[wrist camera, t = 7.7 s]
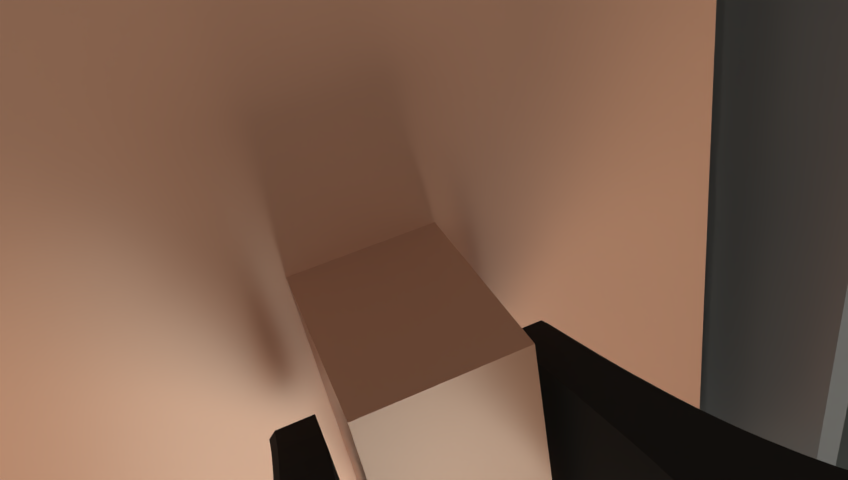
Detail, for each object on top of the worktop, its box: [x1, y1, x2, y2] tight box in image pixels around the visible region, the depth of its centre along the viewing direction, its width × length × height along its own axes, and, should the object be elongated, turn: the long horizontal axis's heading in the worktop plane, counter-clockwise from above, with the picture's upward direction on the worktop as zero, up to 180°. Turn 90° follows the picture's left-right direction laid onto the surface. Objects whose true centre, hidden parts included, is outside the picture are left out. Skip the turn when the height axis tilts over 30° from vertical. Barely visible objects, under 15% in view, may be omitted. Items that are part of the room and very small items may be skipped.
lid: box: [0, 0, 716, 480], centre depth 12 cm, size 15×13×4 cm
